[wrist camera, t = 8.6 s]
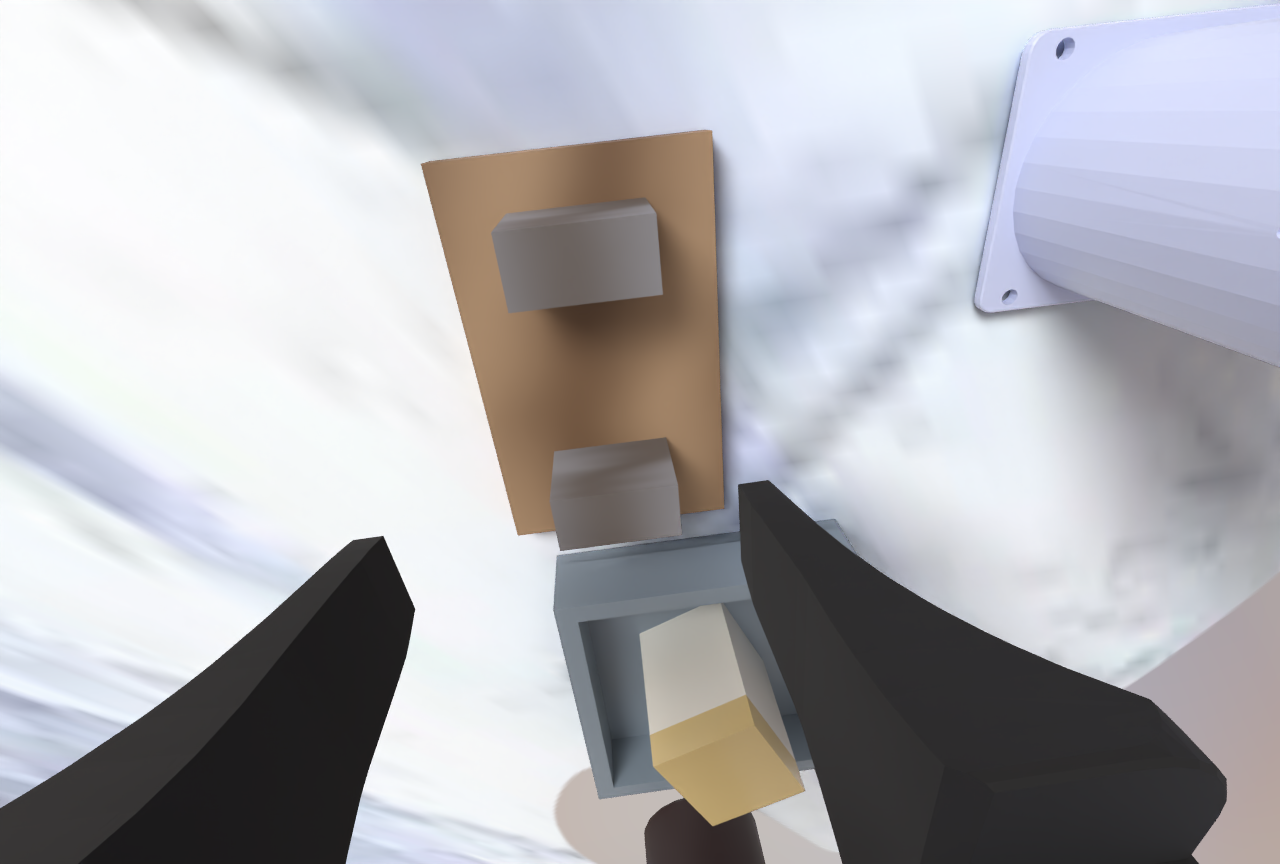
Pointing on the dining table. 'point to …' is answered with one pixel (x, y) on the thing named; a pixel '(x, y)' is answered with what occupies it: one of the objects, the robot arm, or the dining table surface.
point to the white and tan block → (715, 716)
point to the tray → (611, 651)
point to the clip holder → (592, 328)
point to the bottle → (700, 838)
